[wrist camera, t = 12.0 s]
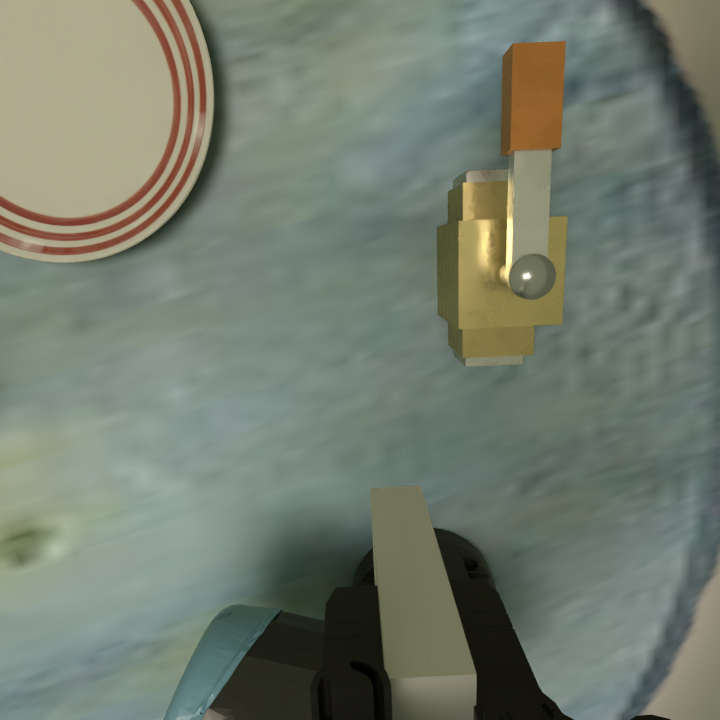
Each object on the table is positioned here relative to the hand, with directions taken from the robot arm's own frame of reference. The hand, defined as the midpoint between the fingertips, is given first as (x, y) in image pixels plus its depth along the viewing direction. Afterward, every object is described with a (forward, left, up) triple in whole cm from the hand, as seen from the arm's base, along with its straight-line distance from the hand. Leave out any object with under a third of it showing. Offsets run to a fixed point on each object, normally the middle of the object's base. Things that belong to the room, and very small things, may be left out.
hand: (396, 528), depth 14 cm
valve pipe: (+6, -11, -32) cm, 35 cm away
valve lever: (+12, -11, -23) cm, 28 cm away
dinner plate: (+22, +25, -33) cm, 47 cm away
